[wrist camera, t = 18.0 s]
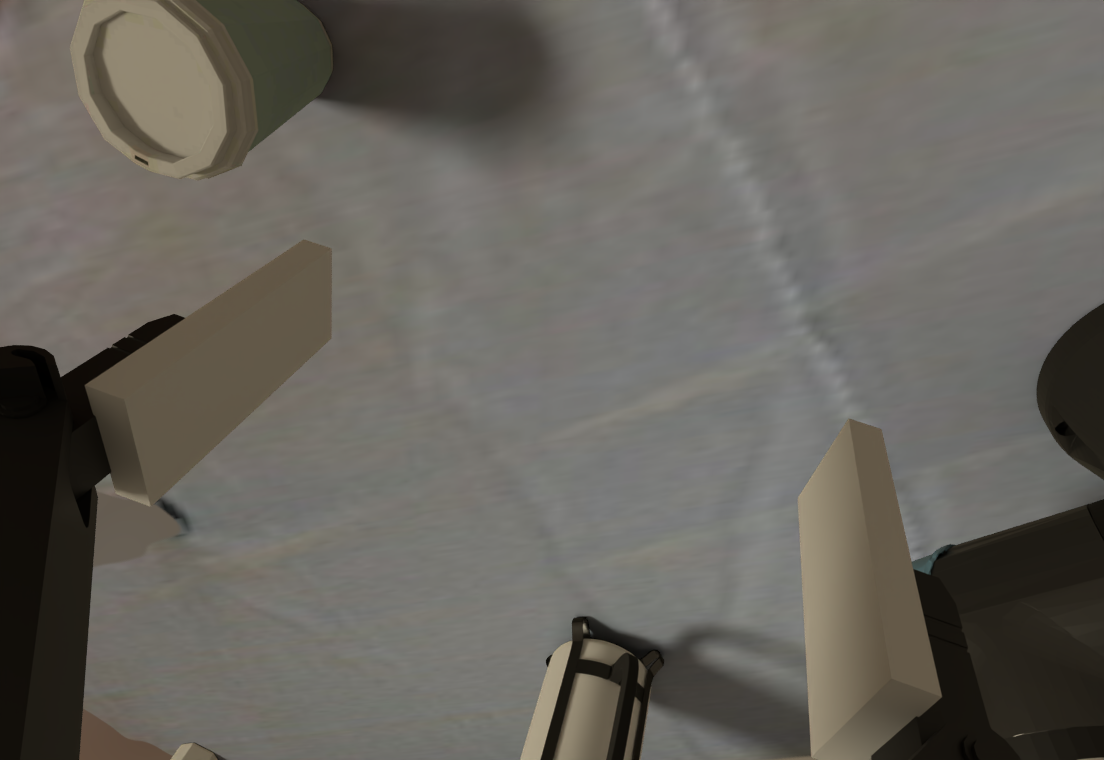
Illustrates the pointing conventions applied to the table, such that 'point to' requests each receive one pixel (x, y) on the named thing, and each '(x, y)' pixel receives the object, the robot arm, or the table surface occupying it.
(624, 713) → the coffee press
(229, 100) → the disposable coffee cup
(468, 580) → the table surface
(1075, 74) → the table surface
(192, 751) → the jar
